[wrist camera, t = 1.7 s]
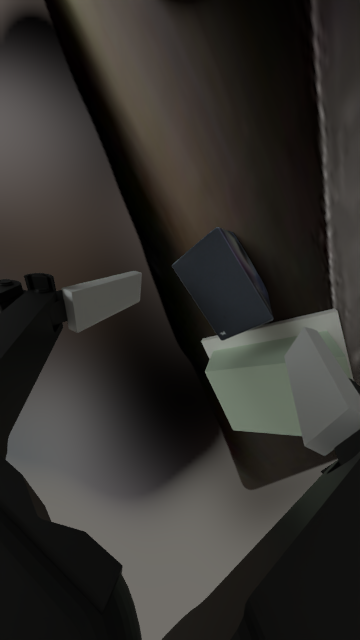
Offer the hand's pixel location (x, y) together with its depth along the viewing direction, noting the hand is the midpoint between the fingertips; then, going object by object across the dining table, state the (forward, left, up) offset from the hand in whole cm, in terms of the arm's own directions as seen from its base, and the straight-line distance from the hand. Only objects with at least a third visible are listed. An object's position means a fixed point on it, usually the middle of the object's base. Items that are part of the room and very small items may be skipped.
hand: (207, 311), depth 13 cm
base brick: (+14, +12, -14) cm, 23 cm away
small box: (0, 0, -15) cm, 15 cm away
